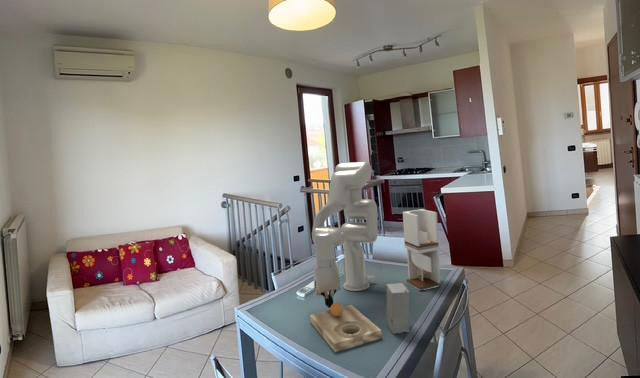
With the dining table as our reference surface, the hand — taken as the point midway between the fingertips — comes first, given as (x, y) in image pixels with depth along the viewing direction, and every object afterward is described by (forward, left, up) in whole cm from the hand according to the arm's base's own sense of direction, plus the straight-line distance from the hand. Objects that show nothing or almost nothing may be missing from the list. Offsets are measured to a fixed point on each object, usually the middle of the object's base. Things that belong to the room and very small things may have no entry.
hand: (329, 306), depth 148 cm
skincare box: (-18, +22, -4) cm, 29 cm away
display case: (-50, -6, -4) cm, 50 cm away
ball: (0, +7, +2) cm, 8 cm away
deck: (0, +13, -4) cm, 14 cm away
